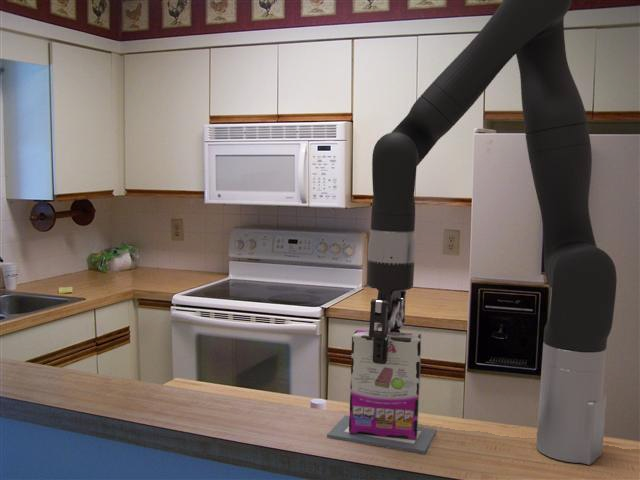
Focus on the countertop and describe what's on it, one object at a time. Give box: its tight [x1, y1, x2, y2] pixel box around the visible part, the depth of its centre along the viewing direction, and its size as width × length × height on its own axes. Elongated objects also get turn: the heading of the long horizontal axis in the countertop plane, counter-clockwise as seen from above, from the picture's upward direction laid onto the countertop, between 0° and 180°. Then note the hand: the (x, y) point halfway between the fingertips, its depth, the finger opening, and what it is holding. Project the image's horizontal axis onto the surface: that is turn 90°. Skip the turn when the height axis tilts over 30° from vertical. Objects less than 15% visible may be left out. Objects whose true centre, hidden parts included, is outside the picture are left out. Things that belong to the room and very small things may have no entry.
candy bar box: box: [348, 329, 422, 439], centre depth 111 cm, size 11×5×16 cm, turn 80°
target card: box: [326, 414, 437, 455], centre depth 112 cm, size 16×10×1 cm, turn 70°
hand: (386, 357), depth 111 cm, fingers open, 8 cm apart
